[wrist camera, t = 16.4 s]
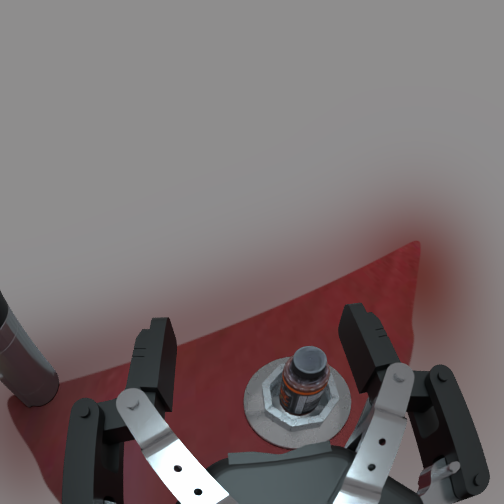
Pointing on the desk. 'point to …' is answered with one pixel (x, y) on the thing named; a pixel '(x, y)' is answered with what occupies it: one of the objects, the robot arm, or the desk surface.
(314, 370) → the supplement bottle
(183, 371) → the desk surface
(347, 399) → the steel collar
